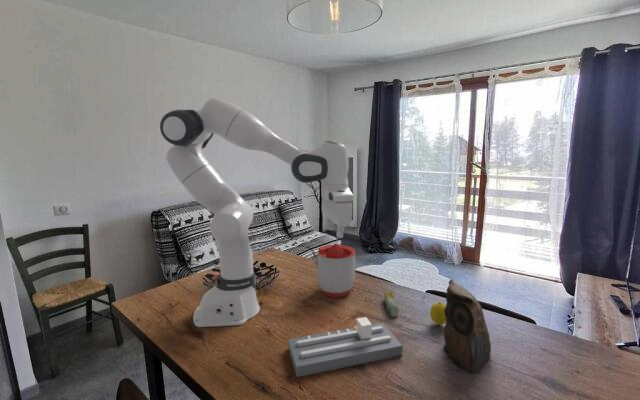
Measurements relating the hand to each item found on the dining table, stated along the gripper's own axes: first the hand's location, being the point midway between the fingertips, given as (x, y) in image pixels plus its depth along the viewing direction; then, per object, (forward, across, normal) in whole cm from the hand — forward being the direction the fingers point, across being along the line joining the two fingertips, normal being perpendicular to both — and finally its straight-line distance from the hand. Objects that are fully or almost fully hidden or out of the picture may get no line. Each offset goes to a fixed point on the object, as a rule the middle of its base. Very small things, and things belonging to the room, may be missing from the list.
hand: (335, 233), depth 106 cm
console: (+29, +20, -4) cm, 35 cm away
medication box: (+30, +1, +20) cm, 36 cm away
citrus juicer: (+29, -17, +5) cm, 34 cm away
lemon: (+29, +16, +30) cm, 45 cm away
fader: (+26, +20, +2) cm, 33 cm away
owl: (+29, +32, +28) cm, 52 cm away
